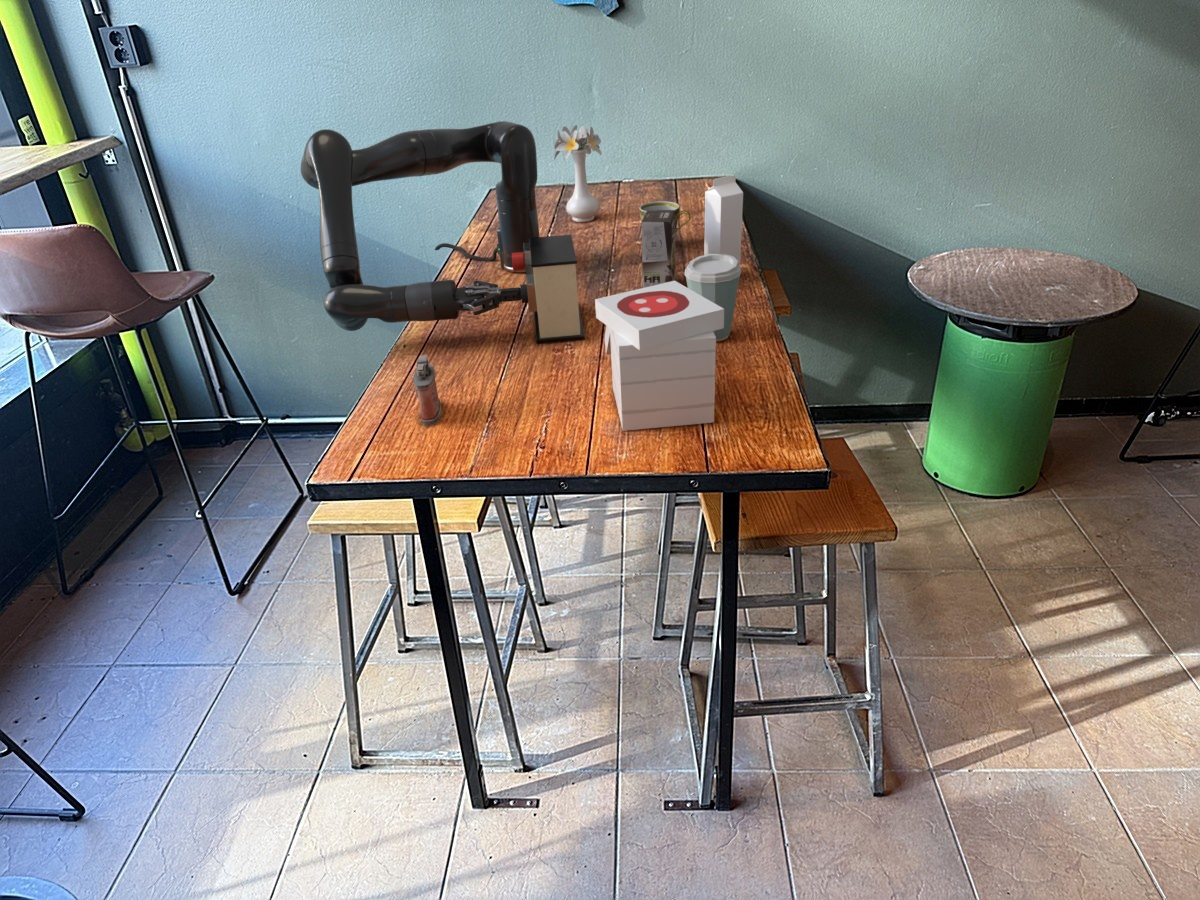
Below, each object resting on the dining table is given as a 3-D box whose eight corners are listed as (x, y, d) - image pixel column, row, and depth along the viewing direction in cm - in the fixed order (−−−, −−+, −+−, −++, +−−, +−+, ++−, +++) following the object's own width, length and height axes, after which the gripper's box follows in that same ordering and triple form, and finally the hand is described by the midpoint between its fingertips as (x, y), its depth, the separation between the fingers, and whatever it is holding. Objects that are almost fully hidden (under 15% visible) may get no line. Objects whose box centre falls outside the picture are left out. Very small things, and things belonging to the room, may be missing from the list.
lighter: (423, 403, 144) (413, 351, 138) (443, 401, 144) (433, 349, 139) (418, 426, 137) (408, 372, 132) (439, 424, 137) (429, 370, 132)
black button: (522, 305, 161) (520, 288, 159) (522, 299, 164) (520, 281, 162) (534, 304, 161) (532, 287, 159) (534, 298, 164) (532, 280, 162)
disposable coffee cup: (725, 351, 155) (727, 274, 147) (674, 340, 160) (673, 266, 152) (747, 330, 163) (751, 256, 155) (698, 321, 168) (699, 249, 160)
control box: (532, 344, 162) (524, 266, 154) (530, 310, 177) (522, 237, 169) (585, 339, 163) (579, 261, 154) (578, 306, 178) (573, 233, 169)
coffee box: (671, 294, 181) (670, 221, 172) (642, 294, 182) (640, 221, 174) (676, 279, 188) (676, 209, 180) (648, 279, 190) (646, 209, 181)
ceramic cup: (634, 250, 207) (633, 211, 202) (647, 238, 215) (647, 200, 210) (684, 254, 203) (684, 214, 198) (695, 242, 211) (696, 202, 205)
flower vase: (602, 208, 242) (597, 117, 229) (607, 226, 226) (602, 130, 213) (557, 211, 241) (550, 121, 228) (560, 229, 226) (552, 134, 213)
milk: (740, 276, 189) (744, 177, 177) (718, 281, 186) (722, 182, 174) (724, 268, 193) (727, 172, 181) (702, 274, 191) (705, 176, 179)
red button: (513, 273, 166) (511, 256, 164) (513, 267, 169) (511, 250, 168) (525, 272, 166) (523, 255, 165) (525, 266, 170) (523, 249, 168)
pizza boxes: (692, 349, 157) (693, 257, 147) (728, 427, 131) (732, 322, 122) (592, 358, 156) (586, 265, 146) (609, 439, 130) (603, 333, 121)
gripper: (437, 306, 168) (522, 299, 169) (432, 332, 157) (523, 324, 158) (431, 271, 164) (519, 264, 165) (426, 295, 153) (519, 287, 154)
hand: (521, 293), depth 161 cm, fingers closed
